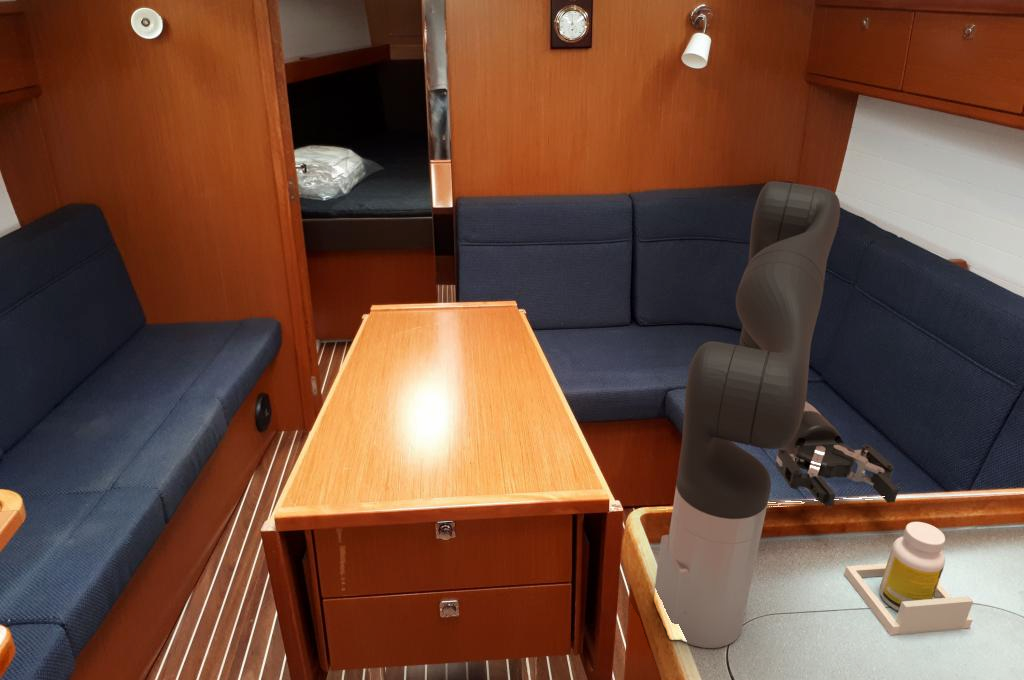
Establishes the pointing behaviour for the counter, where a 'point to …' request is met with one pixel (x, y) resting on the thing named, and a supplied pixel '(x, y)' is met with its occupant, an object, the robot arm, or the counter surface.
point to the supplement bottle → (913, 565)
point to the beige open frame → (912, 606)
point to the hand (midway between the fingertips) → (862, 499)
